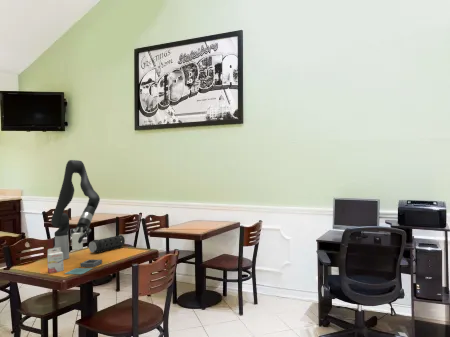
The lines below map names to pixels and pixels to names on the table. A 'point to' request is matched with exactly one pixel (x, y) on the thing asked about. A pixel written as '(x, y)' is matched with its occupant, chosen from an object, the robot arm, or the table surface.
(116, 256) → the table surface
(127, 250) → the table surface
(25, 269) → the table surface
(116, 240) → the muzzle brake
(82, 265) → the dock
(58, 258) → the ink cartridge box
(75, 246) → the plug
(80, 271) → the mat
